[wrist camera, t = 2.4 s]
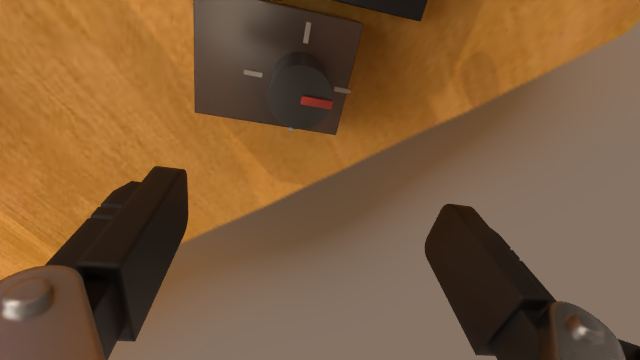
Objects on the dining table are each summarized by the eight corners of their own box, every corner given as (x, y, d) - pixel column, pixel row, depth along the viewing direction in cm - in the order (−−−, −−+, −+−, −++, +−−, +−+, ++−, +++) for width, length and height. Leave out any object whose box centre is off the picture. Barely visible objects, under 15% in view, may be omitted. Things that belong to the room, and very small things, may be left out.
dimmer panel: (203, 104, 27) (194, 116, 25) (204, -15, 23) (192, -16, 20) (334, 126, 29) (338, 139, 27) (359, 21, 25) (368, 24, 22)
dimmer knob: (268, 103, 25) (263, 125, 21) (274, 46, 22) (271, 59, 18) (320, 112, 25) (326, 135, 21) (331, 58, 23) (340, 72, 19)
